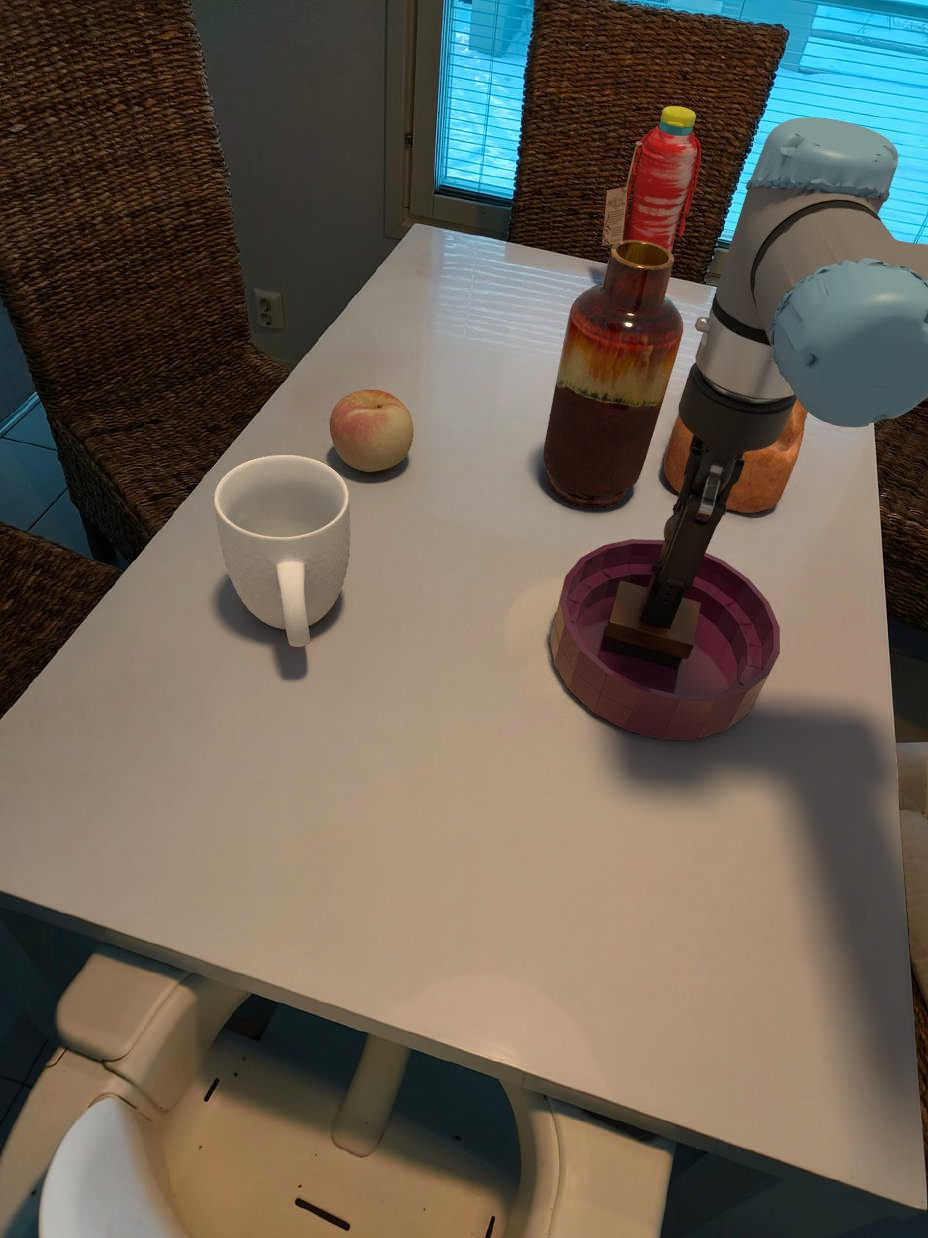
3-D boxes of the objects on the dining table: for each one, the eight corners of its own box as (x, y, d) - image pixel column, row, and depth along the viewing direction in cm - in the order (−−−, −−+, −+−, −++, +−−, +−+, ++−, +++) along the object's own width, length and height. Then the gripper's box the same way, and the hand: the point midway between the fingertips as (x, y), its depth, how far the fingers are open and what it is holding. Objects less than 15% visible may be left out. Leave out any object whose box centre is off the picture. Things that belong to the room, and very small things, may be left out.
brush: (688, 631, 80) (742, 506, 69) (681, 674, 77) (737, 550, 66) (610, 609, 81) (650, 483, 70) (599, 650, 78) (640, 524, 67)
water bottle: (582, 292, 128) (619, 106, 109) (592, 271, 133) (628, 90, 115) (661, 310, 126) (712, 124, 108) (668, 287, 131) (717, 106, 113)
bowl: (798, 711, 76) (825, 668, 71) (611, 769, 70) (628, 726, 65) (685, 568, 88) (702, 523, 83) (516, 607, 82) (525, 561, 77)
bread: (796, 407, 111) (845, 293, 100) (774, 527, 93) (831, 405, 82) (691, 379, 113) (728, 265, 102) (651, 491, 96) (690, 368, 85)
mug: (366, 674, 74) (366, 566, 65) (236, 690, 72) (217, 580, 62) (342, 558, 84) (340, 449, 74) (227, 569, 81) (210, 457, 72)
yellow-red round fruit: (316, 462, 94) (313, 400, 88) (368, 428, 99) (369, 367, 93) (377, 496, 91) (378, 434, 85) (427, 459, 96) (432, 398, 90)
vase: (522, 461, 97) (562, 230, 78) (607, 447, 101) (665, 223, 82) (563, 522, 91) (617, 286, 72) (653, 505, 94) (727, 276, 75)
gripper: (704, 312, 64) (631, 542, 82) (677, 423, 54) (600, 660, 71) (803, 335, 63) (708, 563, 81) (796, 452, 53) (689, 686, 70)
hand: (658, 608), depth 76 cm, fingers closed on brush, 3 cm apart
